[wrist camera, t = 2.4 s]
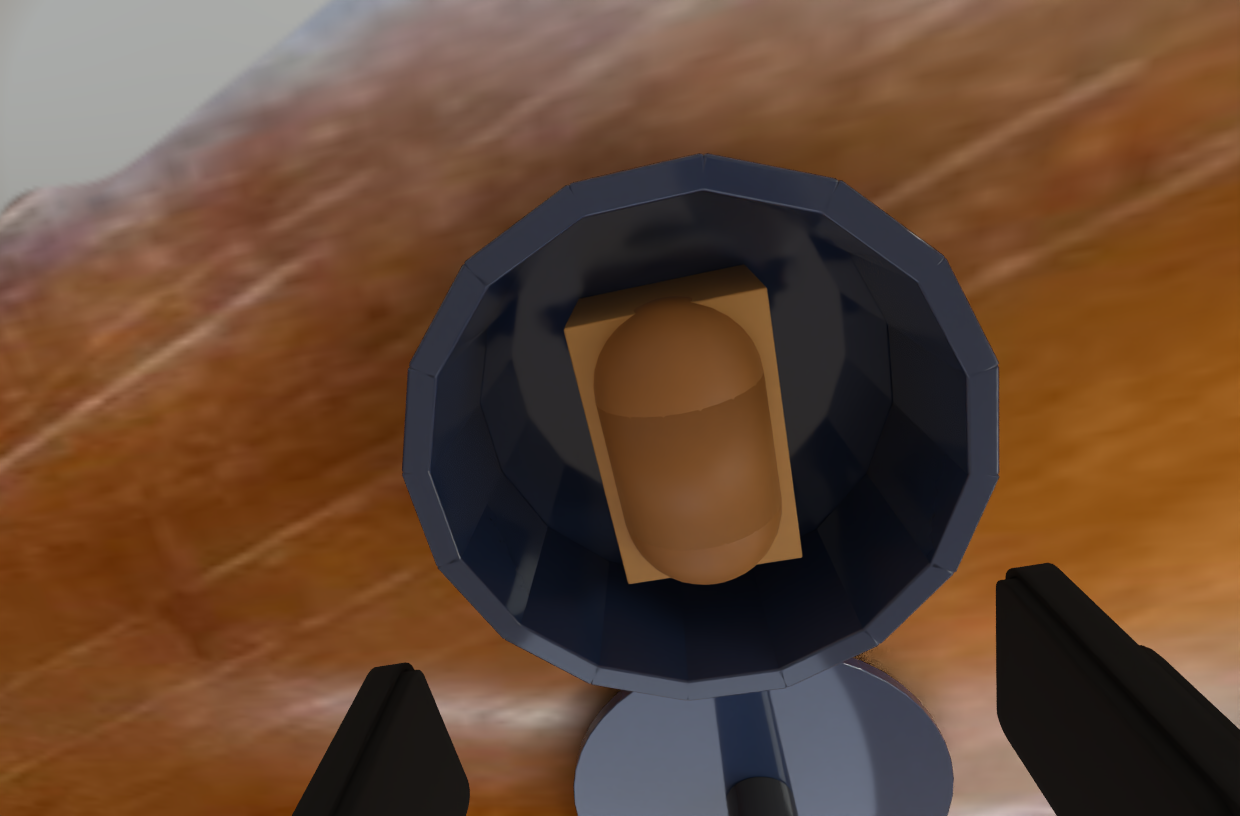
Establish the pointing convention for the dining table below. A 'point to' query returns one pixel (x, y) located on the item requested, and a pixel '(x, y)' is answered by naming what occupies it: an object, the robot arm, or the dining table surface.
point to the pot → (813, 412)
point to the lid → (768, 752)
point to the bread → (688, 425)
